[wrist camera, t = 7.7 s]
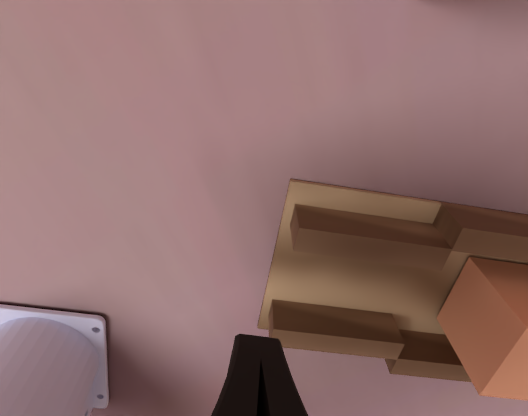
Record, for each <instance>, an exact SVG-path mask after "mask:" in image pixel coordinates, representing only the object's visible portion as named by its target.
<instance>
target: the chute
mask: <svg viewBox="0 0 528 416" xmlns="http://www.w3.org/2000/svg"><path fill="white" fill-rule="evenodd" d="M469 257H474V258H481V259H488V260H495V261H503V262H510V263H517V264H524V265H528V215H526V214H519V213H513V212H506V211H500V210H493V209H486V208H480V207H473V206H467V205H460V204H453V203H447V202H440V201H434V200H427V199H420V198H414V197H407V196H401V195H394V194H387V193H381V192H374V191H368V190H361V189H354V188H348V187H341V186H335V185H328V184H321V183H315V182H308V181H302V180H295V179H290V183H289V187H288V192H287V196H286V200H285V205H284V209H283V214H282V218H281V223H280V227H279V232H278V236H277V241H276V245H275V250H274V254H273V259H272V263H271V267H270V272H269V276H268V281H267V285H266V290H265V294H264V299H263V303H262V308H261V312H260V317H259V321H258V328H259V329H268V330H269V338H278V339H279V340H280V342H281V345H282V347H285V348H294V349H303V350H312V351H321V352H331V353H340V354H349V355H358V356H367V357H376V358H385V361H386V363H387V366H388V369H389V372H390V374H399V375H409V376H418V377H428V378H437V379H447V380H456V381H465V382H472V381H471V379H470V377H469V376H468V374H467V372H466V370H465V369H464V367H463V365H462V363H461V361H460V360H459V358H458V356H457V354H456V352H455V351H454V349H453V347H452V345H451V343H450V342H449V340H448V338H447V336H446V334H445V333H444V331H443V329H442V327H441V325H440V324H439V322H438V320H437V316H438V314H439V312H440V310H441V309H442V307H443V305H444V303H445V301H446V299H447V297H448V295H449V294H450V292H451V290H452V288H453V286H454V284H455V282H456V281H457V279H458V277H459V275H460V273H461V271H462V269H463V267H464V266H465V264H466V262H467V260H468V258H469Z"/></svg>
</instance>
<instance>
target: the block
mask: <svg viewBox="0 0 528 416" xmlns="http://www.w3.org/2000/svg"><path fill="white" fill-rule="evenodd" d="M437 320H438V322H439V324H440V325H441V327H442V329H443V331H444V333H445V334H446V336H447V338H448V340H449V342H450V343H451V345H452V347H453V349H454V351H455V352H456V354H457V356H458V358H459V360H460V361H461V363H462V365H463V367H464V369H465V370H466V372H467V374H468V376H469V377H470V379H471V381H472V383H473V385H474V386H475V388H476V390H477V392H478V394H479V395H480V396H490V397H500V398H510V399H519V400H528V265H524V264H517V263H510V262H503V261H495V260H488V259H481V258H474V257H469V258H468V260H467V262H466V264H465V266H464V267H463V269H462V271H461V273H460V275H459V277H458V279H457V281H456V282H455V284H454V286H453V288H452V290H451V292H450V294H449V295H448V297H447V299H446V301H445V303H444V305H443V307H442V309H441V310H440V312H439V314H438V316H437Z"/></svg>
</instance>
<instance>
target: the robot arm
mask: <svg viewBox="0 0 528 416" xmlns="http://www.w3.org/2000/svg"><path fill="white" fill-rule="evenodd" d="M96 327H97V328H96ZM108 403H109V388H108V366H107V343H106V321H105V319H104V318H103V317H102V316H99V315H92V314H83V313H74V312H65V311H56V310H47V309H38V308H29V307H20V306H11V305H2V304H0V416H90V414H91V412H92V409H93V408H100V409H103V408H106V407H107V406H108ZM211 416H308V414H307V412H306V410H305V408H304V405H303V403H302V400H301V398H300V396H299V393H298V391H297V389H296V386H295V383H294V381H293V378H292V376H291V373H290V370H289V367H288V364H287V361H286V358H285V355H284V352H283V349H282V345H281V342H280V340H279V339H278V338H269V337H261V336H253V335H245V334H238V335H236V336H235V340H234V345H233V350H232V354H231V359H230V364H229V368H228V373H227V377H226V380H225V383H224V385H223V388H222V391H221V394H220V396H219V399H218V401H217V404H216V406H215V408H214V410H213V413H212V415H211Z"/></svg>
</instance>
